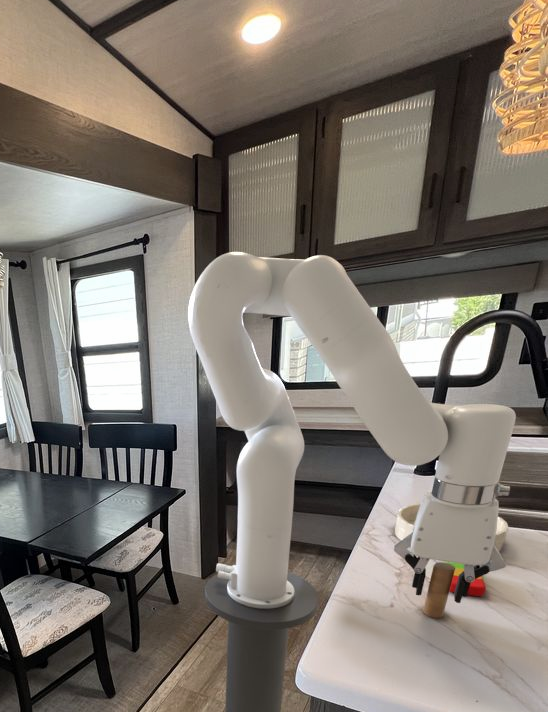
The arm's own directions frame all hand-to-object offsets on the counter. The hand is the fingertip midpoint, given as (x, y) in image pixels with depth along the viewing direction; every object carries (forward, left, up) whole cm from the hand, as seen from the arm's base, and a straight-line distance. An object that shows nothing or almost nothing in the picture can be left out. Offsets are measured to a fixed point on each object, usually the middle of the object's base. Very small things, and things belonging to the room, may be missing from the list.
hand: (437, 594), depth 77 cm
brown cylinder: (0, 0, -4) cm, 4 cm away
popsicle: (+4, +16, -4) cm, 17 cm away
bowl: (+2, +34, -4) cm, 34 cm away
